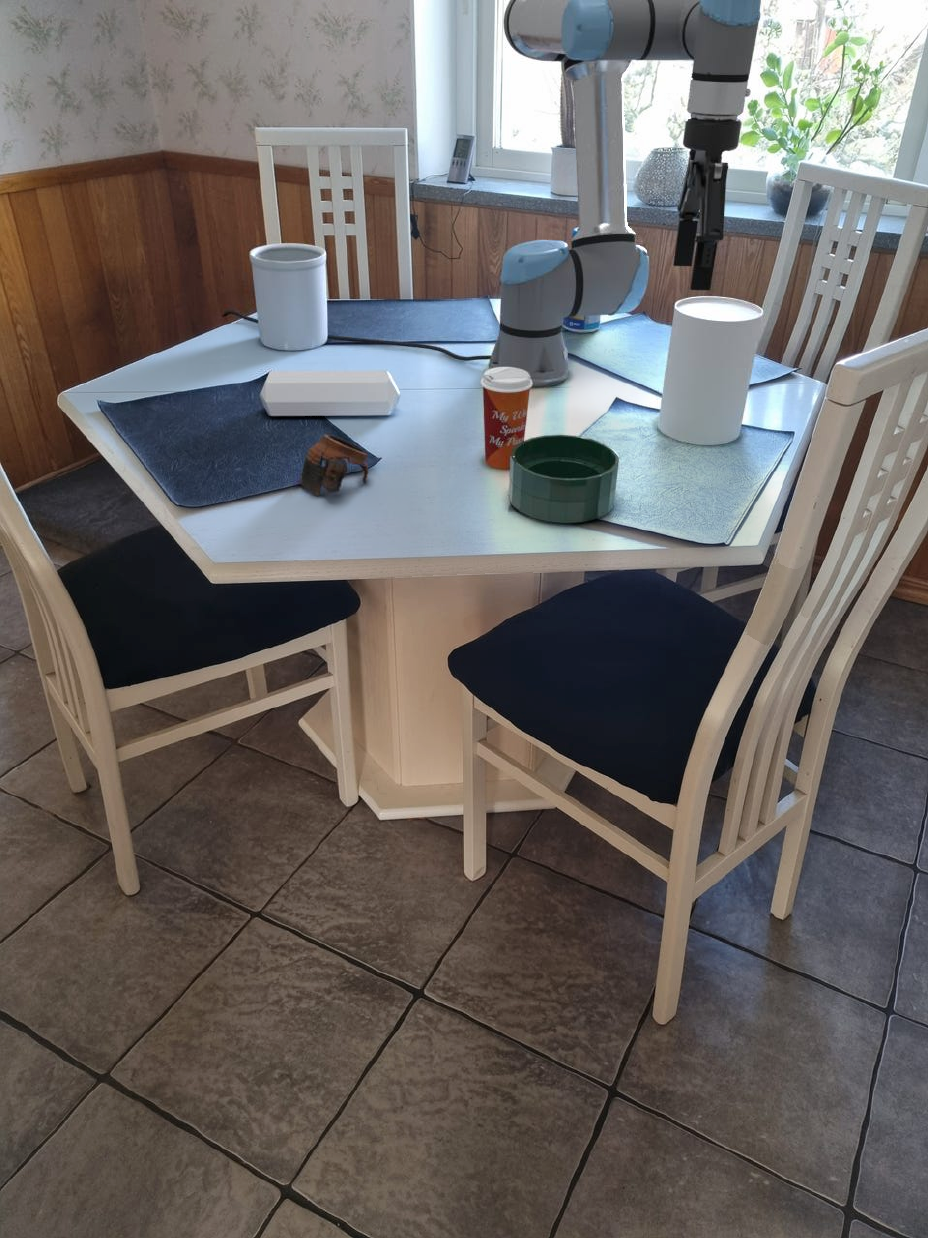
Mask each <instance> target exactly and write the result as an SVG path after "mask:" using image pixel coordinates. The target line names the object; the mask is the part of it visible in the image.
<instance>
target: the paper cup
mask: <svg viewBox="0 0 928 1238" xmlns="http://www.w3.org/2000/svg"><path fill="white" fill-rule="evenodd" d="M530 378H531V377H530V375H529V373H528V372H526V371H525V370H522V369H519V368H514V367H496V368H492V369H489V368H488V369H487V370H485V372H484V373H483V377H482V378H481V380H480V385H481V386H482V397H483V398H482V402H483V432H484V433H483V434H484V435H483V436H484V456H485V463H486V465H487V466H489V467H490V468H493V469H497V470H510V459H511V453H512V450H513V448H514V447H515V446H516V445H518V444H519V443H520V442H523V441H525V436H526V428H527V420H528V419H527V418H528V410H529V400H530V394H531V393H530V391H531V388H533V387H532V385H533V383H532V380H531V379H530Z"/></svg>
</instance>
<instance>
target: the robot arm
mask: <svg viewBox="0 0 928 1238" xmlns="http://www.w3.org/2000/svg"><path fill="white" fill-rule="evenodd" d="M761 4H762V0H509V1H508V4H506V5H507V6H506V8H505V11H504V14H503V31H504V35H505V38H506V40H507V42H508V44H509V45H510V47H511V48H512V49H513V51H515V52H516V53H518V54H519V55H521V56H522V57H525V58H527V59H530V60H535V61H541V62H561V63H563V70H564V71H563V76H564V78H565V79H566V80H567V81H568V82H569V83H570V84H571V85H572V87H573V103H574V104H573V107H574V111H573V112H574V133H575V134H574V135H575V158H576V183H577V184H576V186H577V208H578V227H579V231H578V232H577V234H576V235H575V236H574V237H573V239H572V238H571V241H570V243H571V245H570V246H571V249H570V248H569V245H568V244H567V243H566V241H565V242H564V241H563V240H558V239H548V240H547V239H536V240H530V241H526V242H521V243H519V244H516V245H514V246H511V248H508V250H507V251H506V252H505V253H504V254H503V257H502V265H501V272H500V275H499V276H500V278H499V279H500V280H499V281H500V306H499V307H500V308H499V332H498V336H497V338H496V341H495V343H494V346H493V348H492V349H493V350H492V352H491V354H490V355H489V354H488V355H473V356H463V355H459V354H456V353H454V352H452V351H450V350H448V349H446V348H443V347H440V346H436V345H431V344H430V345H429V344H423V343H413V342H406V341H395V340H383V339H374V338H362V337H352V336H343V335H342V336H341V335H334V334H327V340H336V341H344V342H345V341H346V342H354V343H355V342H356V343H366V344H374V345H375V344H377V345H388V346H397V347H407V348H417V349H425V350H431V351H435V352H439V353H442V354H445V355H446V356H448V357H450V358H453V359H455V360H459V361H463V362H464V361H465V362H471V361H483V360H484V361H485V360H489V362H488V370H489V369H492V368H496V367H514V368H519V369H522V370H525V371H526V372H528V373H529V375H530V377H531V378H530V379H531V380H532V383H533V385H532V387H531V388H542V387H548V386H550V387H551V386H554V385H557V384H560V383H562V382H564V381H566V380H567V379H568V377H569V374H570V372H569V371H570V362H569V358H568V357H569V352H568V348H567V347H566V346H565V341H564V338H563V318H564V317H577V316H595V315H601V316H615V315H620V314H627V313H630V312H632V311H634V310H635V309H636V308H638V306H639V305H640V304H641V302H642V300H643V297H644V295H645V293H646V290H647V288H648V287H647V286H648V281H649V275H650V261H649V256H648V252H647V250H646V248H645V247H643V246H641V245H639V244H636V243H637V239H636V238H637V236H636V235H637V234H636V233H635V232H634V231H633V230H632V228H630V227H629V226H628V222H627V221H628V219H627V217H628V216H627V184H626V183H627V182H626V150H625V149H626V148H625V117H624V115H625V114H624V113H625V112H624V110H625V109H624V82H623V81H624V78H625V77H626V76H627V74H628V73H629V72H630V71H631V70H632V61H685V62H686V61H687V62H693V63H692V72H691V77H690V78H691V79H690V80H689V81H690V83H689V90H688V91H689V92H688V98H687V105H686V111H687V112H688V113H689V114H690V116H687V118H686V119H685V124H684V130H683V137H682V138H683V139H682V145H683V147H684V148H686V149H688V150H689V153H688V155H689V156H688V162H687V167H686V171H685V175H684V179H683V184H682V188H681V192H680V197H679V201H678V204H677V207H676V210H677V212H678V218H679V220H678V227H677V235H676V242H675V249H674V257H673V267H692V273H691V280H690V287H689V288H690V289H689V290H690V291H711V287H712V281H713V275H714V268H715V260H716V256H717V249H718V244H719V242H722V241H723V239H724V238H725V237H724V236H725V235H724V229H725V210H726V189H727V177H728V170H729V162H722V161H723V156H722V155H723V153H724V152H732V151H735V150H736V149H738V147H739V143H740V136H741V130H742V124H743V122H742V120H741V119H740V118H739V116H741V115H742V114H743V113H744V109H745V103H746V98H749V97H750V96H751V92H752V91H751V89H750V88H748V84H749V78H750V74H751V68H752V63H753V57H754V51H755V46H756V39H757V35H758V28H759V22H760V20H761V15H762V14H761ZM698 220H699V221H698ZM698 225H699V235H697V233H698ZM695 245H696V246H695ZM693 259H694V260H693ZM229 315H235V316H237V317H239V318H241V319H243V320H245V321H248V322H251V323H255V324H258V318H254V317H251V316H247V315H245V314H243V313H241V312H239V311H236V310H235V309H234V310H232V309H229V310H226V311H224V312H223V314H222V315H221V317H223V318H226V317H227V316H229Z"/></svg>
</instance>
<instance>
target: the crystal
mask: <svg viewBox="0 0 928 1238" xmlns="http://www.w3.org/2000/svg"><path fill="white" fill-rule="evenodd" d="M259 398H260V401H261V403H262V406H263V408H264V410H265V412H266V413H267V415H268V416H270V417H305V416H308V417H309V416H310V417H312V416H315V417H316V416H317V417H318V416H319V417H320V416H322V417H323V416H325V417H326V416H327V417H328V416H391V415H392V414H393V412H394V410H395V409H396V408H397V405H398V404H399V403H400V399H401V392H400V389H399V387H398V385H397V384H396V382H395V380H394V378H393V376H392V375H391V373H390V372H389V371H388V370H270V371H269V372H268V374H267V376H266V380H265V381H264V383H263V386H262V389H261V391H260V393H259Z"/></svg>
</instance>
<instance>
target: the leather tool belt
mask: <svg viewBox="0 0 928 1238" xmlns="http://www.w3.org/2000/svg"><path fill="white" fill-rule="evenodd" d="M306 453H307V455H306V456H305V458H304V463H303V467H302V469H301V472H300V475H301V477H300V483H299V484H300V485H301V487H302V488H303V489H305V490H306V491H307V492H309V493H312V494H313V495H315V496H320V495H321V489H322V488H323V490H325V491H326V492H327V493H337V492H339V491H340V488H341V487H342V483H343V479H344V478H345V476H346V474H347V472H348V463H350V464H354V465H359V466H360V467H361V469H362V470H363V476H362V481H363V483H366V482H367V479H368V475H369V467H368V463H367V459H368V457H369V453H368V451H366V450H364V449H363V448H361V447H360V446H357V445H355V444H353V443H351V442H349V441H347V440H345V439H342V438H339V437H338V436H334V435H331V434H326V433H323V434H322V436H321V439H320V441H318V442H316V443H315V444H313V445H312V446H311V447H310V448H309V450H308V451H307V452H306ZM346 459H347V460H346ZM323 461H324V465H323Z"/></svg>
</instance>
